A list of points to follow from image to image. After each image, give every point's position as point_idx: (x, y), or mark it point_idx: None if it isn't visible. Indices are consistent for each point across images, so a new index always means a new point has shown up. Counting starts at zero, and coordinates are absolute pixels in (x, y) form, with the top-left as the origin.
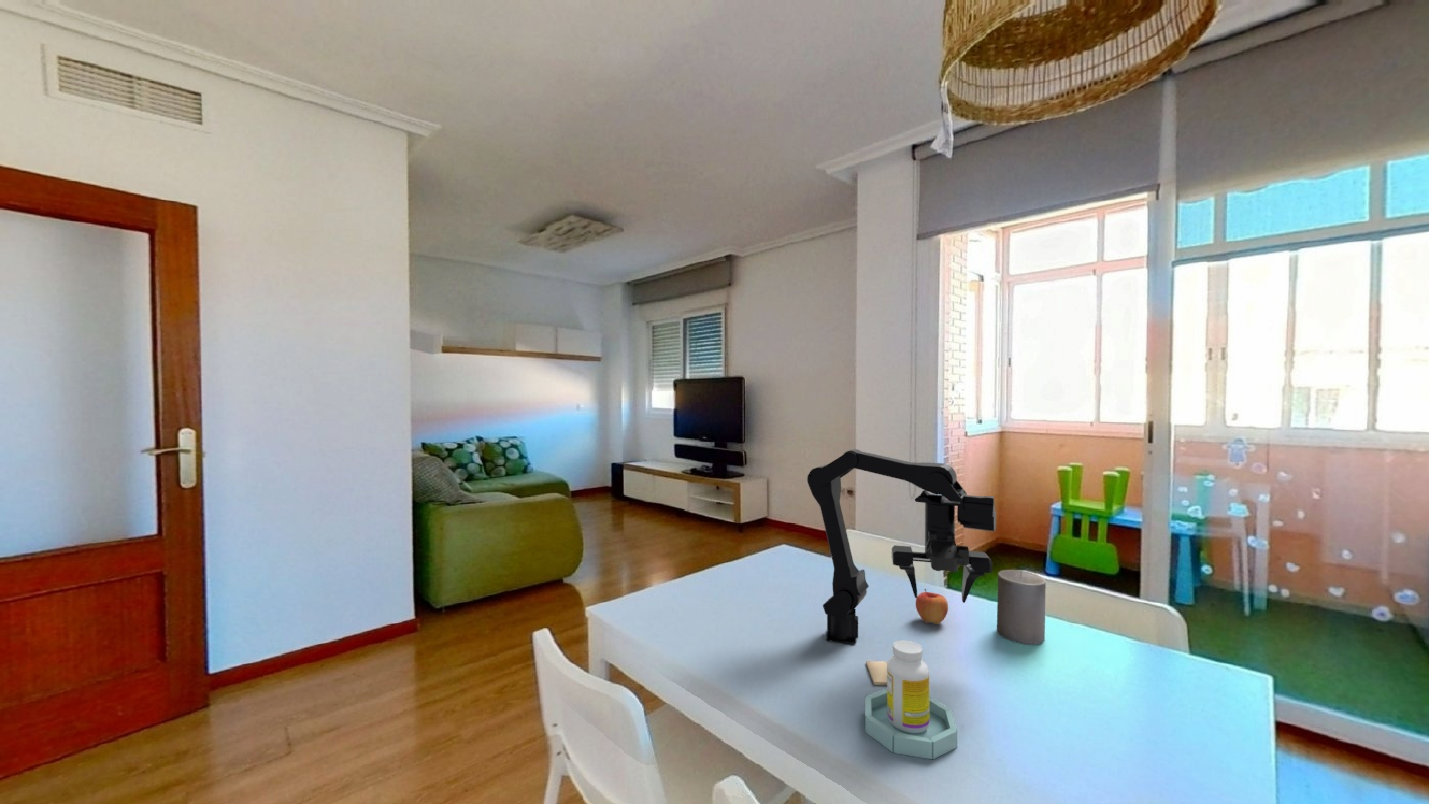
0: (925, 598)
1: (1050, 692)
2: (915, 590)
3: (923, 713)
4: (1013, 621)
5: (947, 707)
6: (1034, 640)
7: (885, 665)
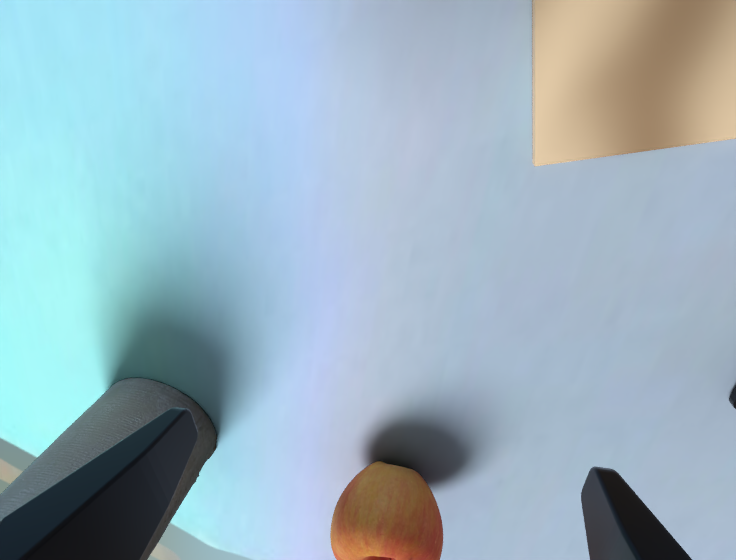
0: (409, 555)
1: (48, 79)
2: (653, 550)
3: None
4: None
5: None
6: (117, 387)
7: (725, 96)
